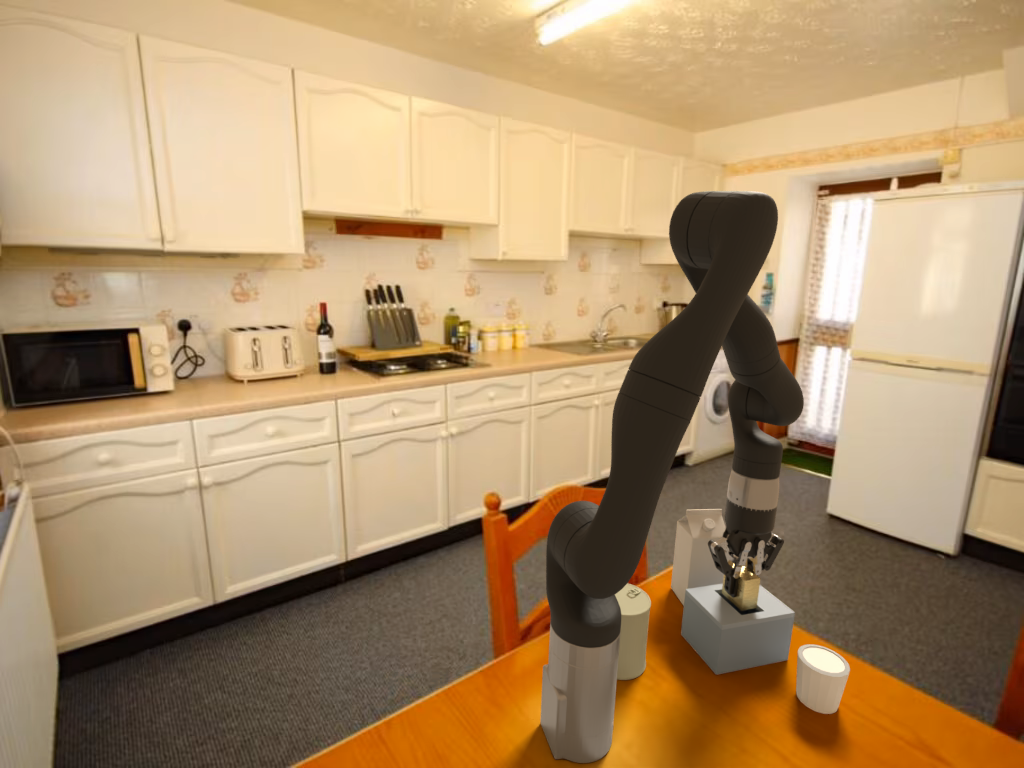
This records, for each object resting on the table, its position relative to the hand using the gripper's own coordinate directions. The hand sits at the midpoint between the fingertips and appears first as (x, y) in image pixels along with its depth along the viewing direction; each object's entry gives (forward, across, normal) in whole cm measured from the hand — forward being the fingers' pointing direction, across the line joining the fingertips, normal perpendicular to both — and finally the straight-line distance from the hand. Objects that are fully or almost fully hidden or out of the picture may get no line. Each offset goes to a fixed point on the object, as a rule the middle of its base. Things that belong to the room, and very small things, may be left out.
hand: (739, 592), depth 89 cm
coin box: (+11, 0, 0) cm, 11 cm away
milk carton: (+11, +2, +14) cm, 18 cm away
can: (+11, -21, +2) cm, 24 cm away
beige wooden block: (+1, 0, 0) cm, 1 cm away
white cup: (+11, +5, -13) cm, 18 cm away
